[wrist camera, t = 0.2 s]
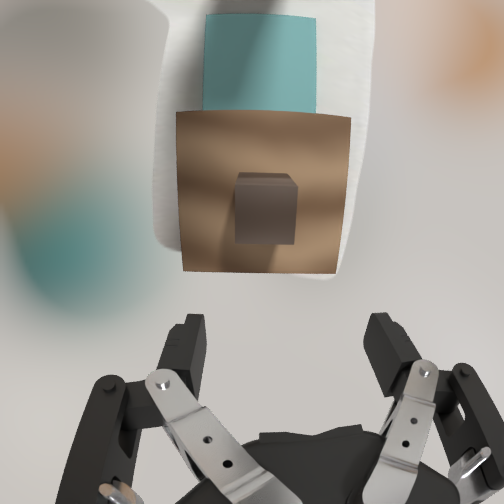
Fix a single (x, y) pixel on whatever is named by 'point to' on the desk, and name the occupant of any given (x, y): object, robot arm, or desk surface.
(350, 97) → the desk surface
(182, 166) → the walnut cover
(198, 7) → the desk surface
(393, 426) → the robot arm
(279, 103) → the teal mat
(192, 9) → the desk surface
